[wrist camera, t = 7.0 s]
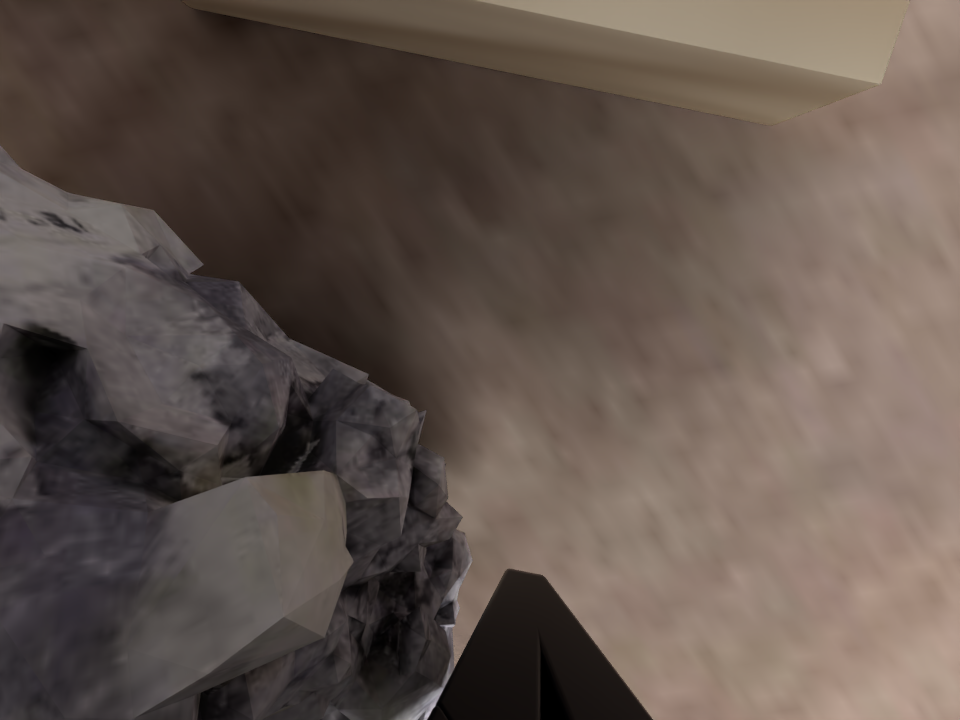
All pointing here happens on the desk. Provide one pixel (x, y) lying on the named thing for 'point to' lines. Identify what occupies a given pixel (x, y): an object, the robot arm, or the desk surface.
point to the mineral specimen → (200, 493)
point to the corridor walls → (630, 44)
